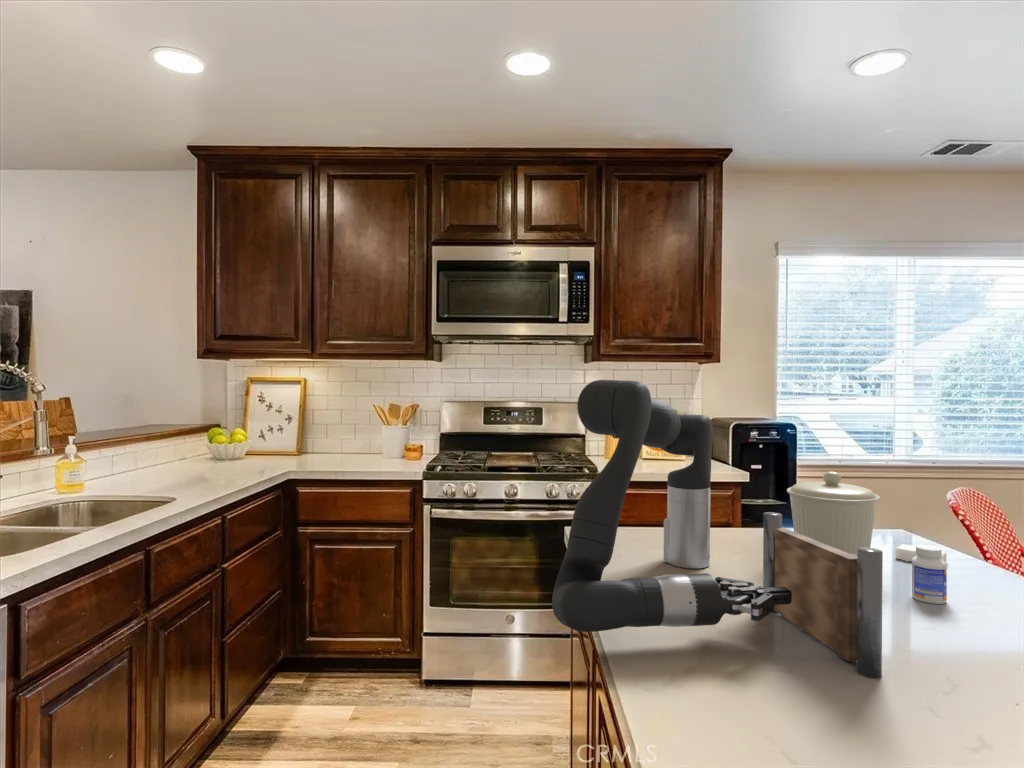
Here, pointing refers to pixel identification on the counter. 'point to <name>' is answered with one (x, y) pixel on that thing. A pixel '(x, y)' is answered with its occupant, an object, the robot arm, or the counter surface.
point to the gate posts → (866, 597)
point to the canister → (834, 512)
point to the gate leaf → (818, 589)
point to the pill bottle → (929, 575)
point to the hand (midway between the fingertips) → (788, 595)
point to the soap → (911, 553)
